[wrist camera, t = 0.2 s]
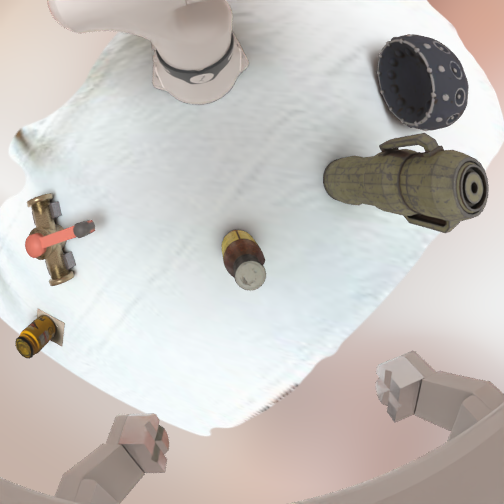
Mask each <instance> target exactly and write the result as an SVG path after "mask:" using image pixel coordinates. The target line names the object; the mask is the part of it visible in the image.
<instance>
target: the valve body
mask: <svg viewBox="0 0 504 504" xmlns="http://www.w3.org/2000/svg"><path fill="white" fill-rule="evenodd" d="M52 199H53V197H52V193H49V194H45V195H41V196H38V197H35V198H33V199H31V200H29V201H27V205H28V207H32V215H33V219H34V223H35V225H36V228H34V229H33V230H32V231H31V232H30V234H29V236H30V235H32V234H35V233H40V234H42V235H43V236H47V235H50V234H53V233H55V232H58V231H61V230H64V229H63V227H62V226H60V225H58V224H55V221H54V218H56V217H59V216H61V215H62V214H61V210H60V205H59V202H54V203H50V200H52ZM65 244H66V241H63V242H60V243H57V244H54V245H51V246H48V247H47V248H46V251H45V253H44V254H43V255H41V256H39V257H36V258H37V259H39V260H44V259H45V260H46V261H45V262H46V266H47V269H48V272H49V275H50V276H51V278H52V279H50V280H49V283H50V286H55V285H59V284H61V283H64V282H66V281H68V280H70V279H72V278H73V277H74V274H73V271H69V270H68V269H70V268H72V267H73V266H75V265H76V264H75V261H74V257H73V254H72V252H68V253H65V254H63V250H62V248H63V247H64V246H65Z"/></svg>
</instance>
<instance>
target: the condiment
mask: <svg viewBox="0 0 504 504" xmlns="http://www.w3.org/2000/svg"><path fill="white" fill-rule="evenodd" d="M64 324H65V323H63V322H61V321H59V320H57V319H56V318H54V317H52V316H50V315H49V314H47V313H45V312H43V311H42V310H40V309H38V310H37V319H36V320H34V321H33V322H32V323H31V324H30V325H29V326H28V327H27V328H25V329H24V330H23V331H22V332H21V334H20V336H19V337H18V338H17V339H16V347H17V350H18V351H19V353H20V354H21V355H22V356H24V357H25V358H31V357H32V356H33V355H35V354H37V353H38V352H39V351H40V350H41V349H42V348H43V347H44V346H45V345H46V344H47V343H48V342H49V341H50V340H51V341H53V342H55V343H57V344H58V345H60V346H62V343H63V334H64ZM56 325H57V326H58V327H57V326H56Z"/></svg>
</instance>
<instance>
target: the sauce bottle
mask: <svg viewBox="0 0 504 504" xmlns="http://www.w3.org/2000/svg"><path fill="white" fill-rule="evenodd" d="M222 254H223V261H224V265H225V267H226V269H227V271H228V272H229V273H230V275H232V276H233V277H234V278H235V281H236V283H237V284H238V285H239V286H240V287H241V288H243V289H245V290H255V289H258V288H259V287H260V286H262V284H263V283H264V281H265V278H266V271H265V268H264V266H263V264H264V263H265V258H264V255H263V253H262V251H261V249H260V247H259V246H258V244H257V243H256V242H255V240H254V239H253V238H252V236H251V235H250V234H248V233H247V232H245V231H242V230H233V231H231V232H229V233H228V234H227V235H226V236H225V237H224V239H223V242H222Z"/></svg>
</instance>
